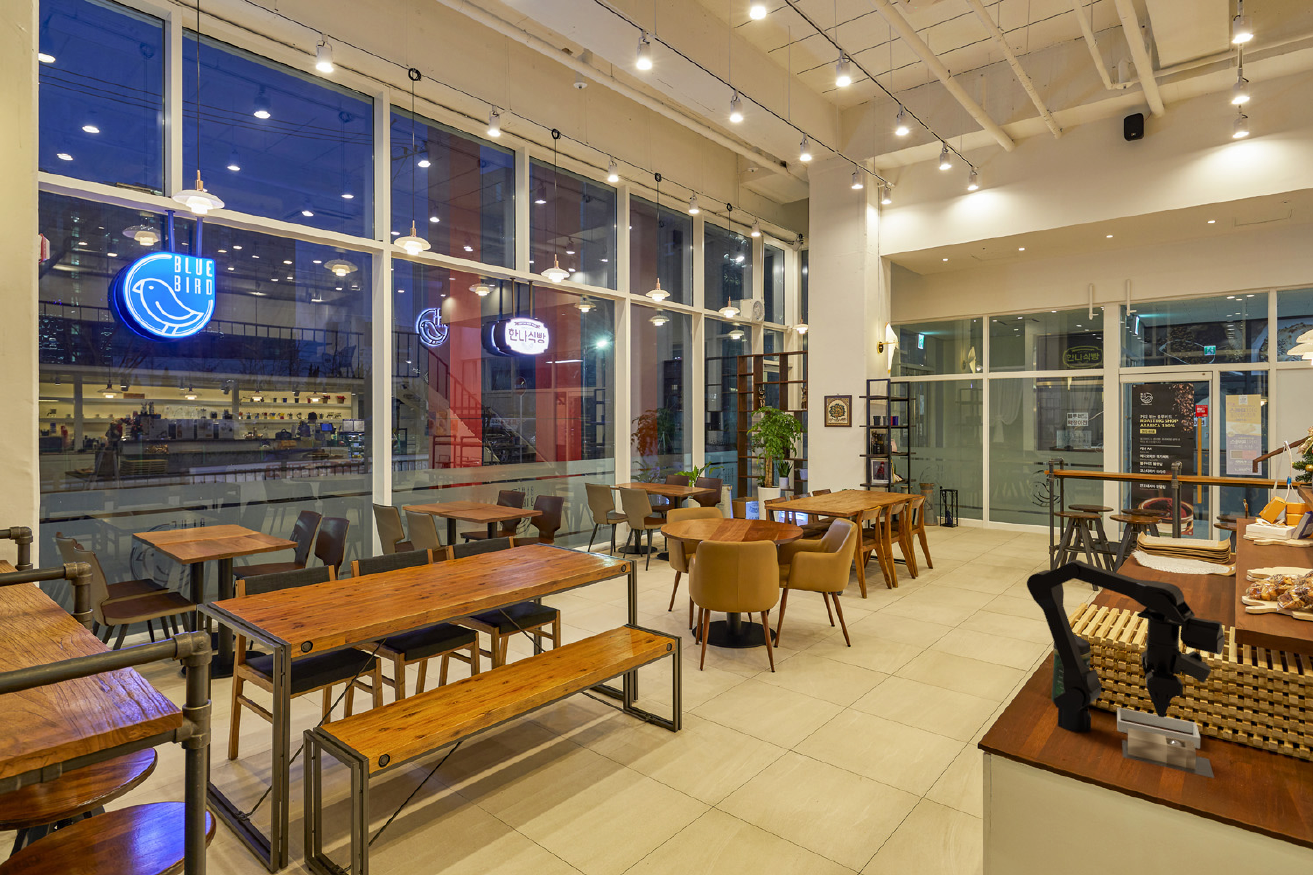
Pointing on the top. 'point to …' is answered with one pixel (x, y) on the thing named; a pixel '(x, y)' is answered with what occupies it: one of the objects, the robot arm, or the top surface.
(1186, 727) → the tray
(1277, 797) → the top surface
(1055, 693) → the coffee jar
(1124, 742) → the stud base
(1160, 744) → the beige rectangular block
